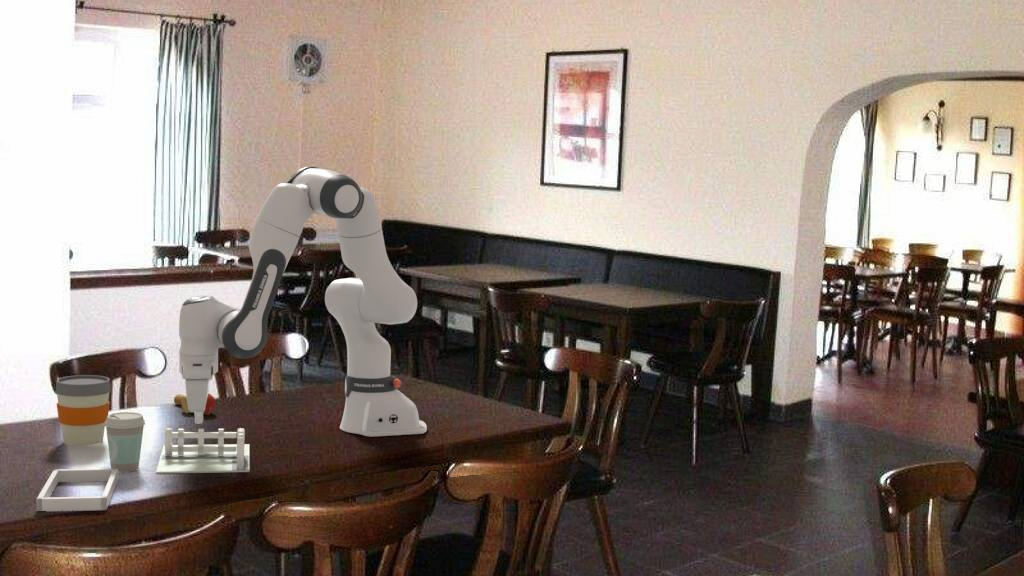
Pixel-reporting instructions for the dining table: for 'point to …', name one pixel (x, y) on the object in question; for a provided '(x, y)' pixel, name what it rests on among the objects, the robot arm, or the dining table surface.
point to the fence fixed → (240, 449)
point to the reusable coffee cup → (83, 408)
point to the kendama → (183, 401)
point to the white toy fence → (200, 436)
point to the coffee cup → (124, 440)
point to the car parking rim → (77, 503)
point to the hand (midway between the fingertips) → (199, 422)
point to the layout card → (202, 461)
